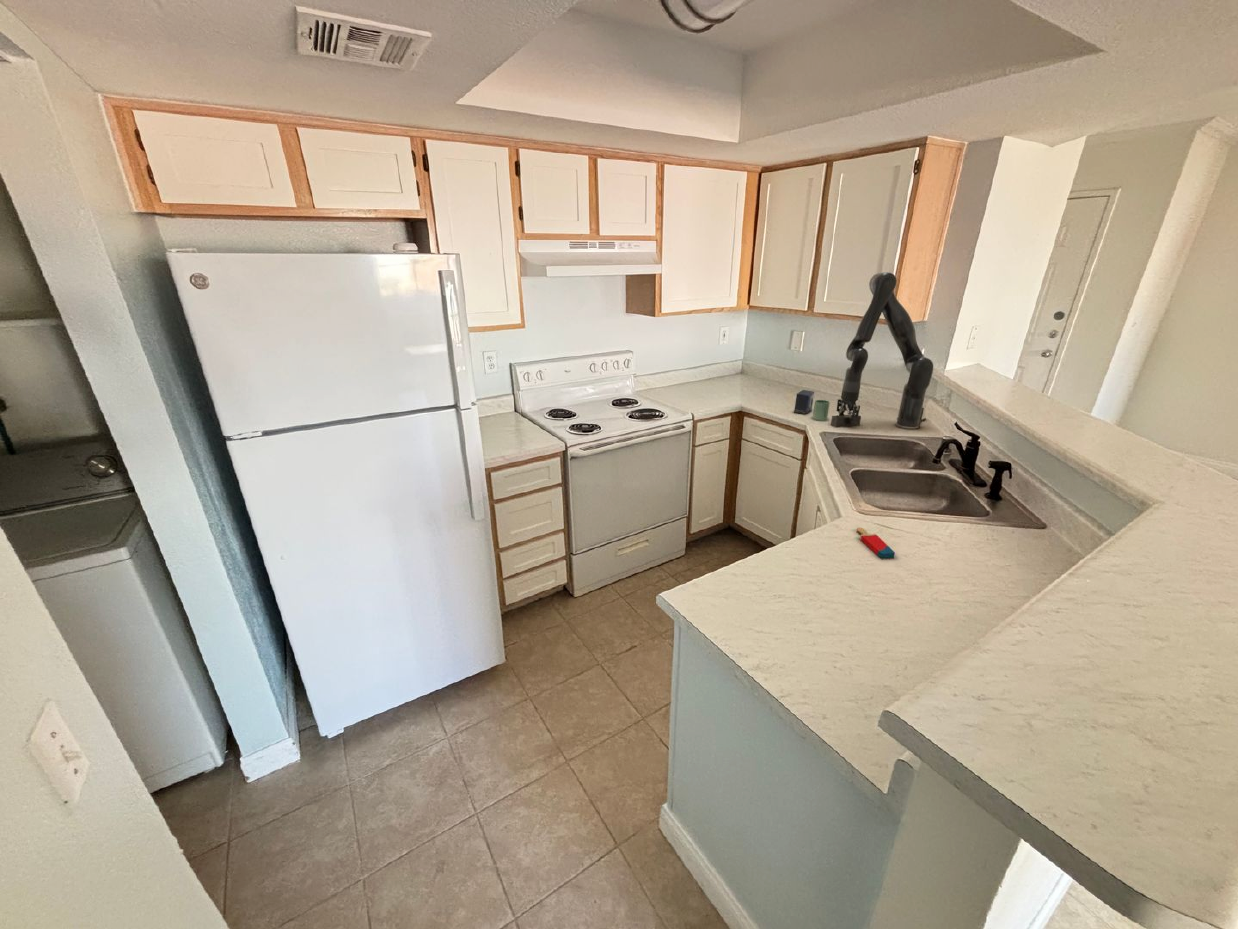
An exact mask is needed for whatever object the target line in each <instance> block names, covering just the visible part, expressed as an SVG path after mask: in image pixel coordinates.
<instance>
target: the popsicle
mask: <svg viewBox="0 0 1238 929" xmlns="http://www.w3.org/2000/svg"><path fill="white" fill-rule="evenodd" d="M856 531H857V532H858V533H859V534H860V536H859V540H860V541H861V542H862V543H864V544H865V545H866V546H867V547H868V548H869V549H870V550H871V551H872V552H873V553H874V554H875V555H876V556H878V557H879V558H880V559H889V558H891V559H892V558H895V554H896V552H895V551H894V550H893V549H892V547H890V546H889V545H888V544H887V543H886V542H885V541H884V540H883V539H882V538H881V537H880V536H879V535H878V534H876V533H868V532H867V530H866V529H864V528H863V527H856Z"/></svg>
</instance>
